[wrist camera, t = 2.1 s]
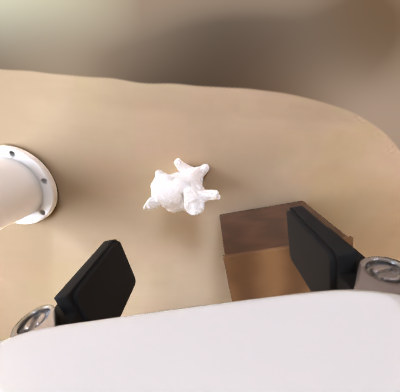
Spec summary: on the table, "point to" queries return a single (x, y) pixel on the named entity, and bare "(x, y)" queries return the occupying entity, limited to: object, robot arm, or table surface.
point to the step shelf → (263, 252)
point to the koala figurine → (181, 190)
